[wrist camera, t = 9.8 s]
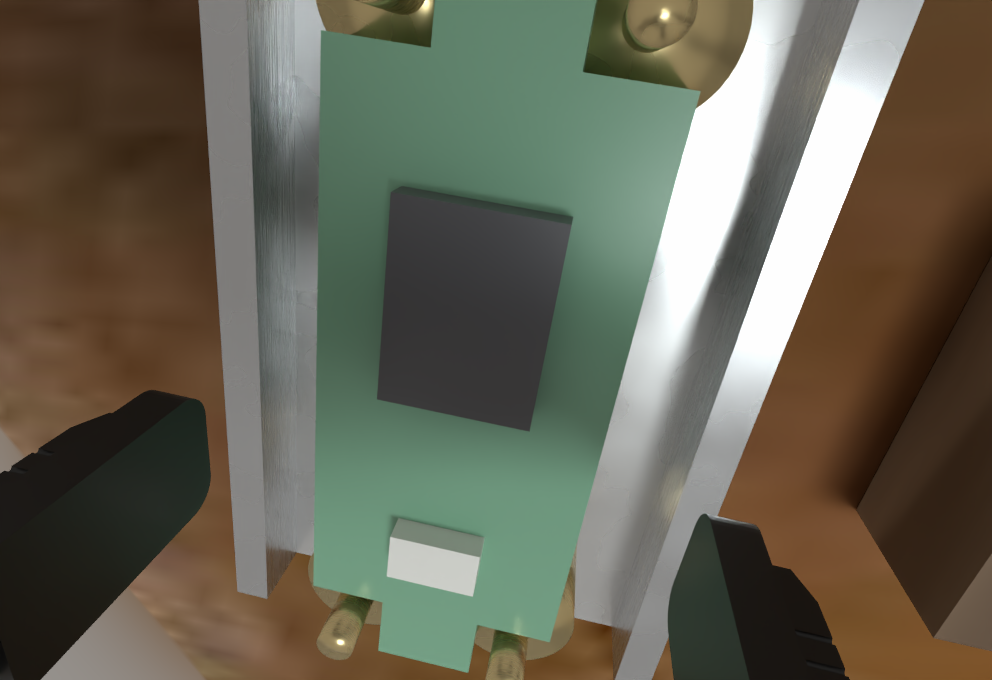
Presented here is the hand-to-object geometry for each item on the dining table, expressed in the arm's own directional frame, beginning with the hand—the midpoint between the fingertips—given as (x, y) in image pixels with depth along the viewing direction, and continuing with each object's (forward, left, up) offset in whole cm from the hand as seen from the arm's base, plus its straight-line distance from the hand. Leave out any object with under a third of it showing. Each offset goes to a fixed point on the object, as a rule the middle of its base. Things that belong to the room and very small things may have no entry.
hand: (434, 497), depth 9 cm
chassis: (0, 0, -8) cm, 8 cm away
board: (0, 0, -4) cm, 4 cm away
